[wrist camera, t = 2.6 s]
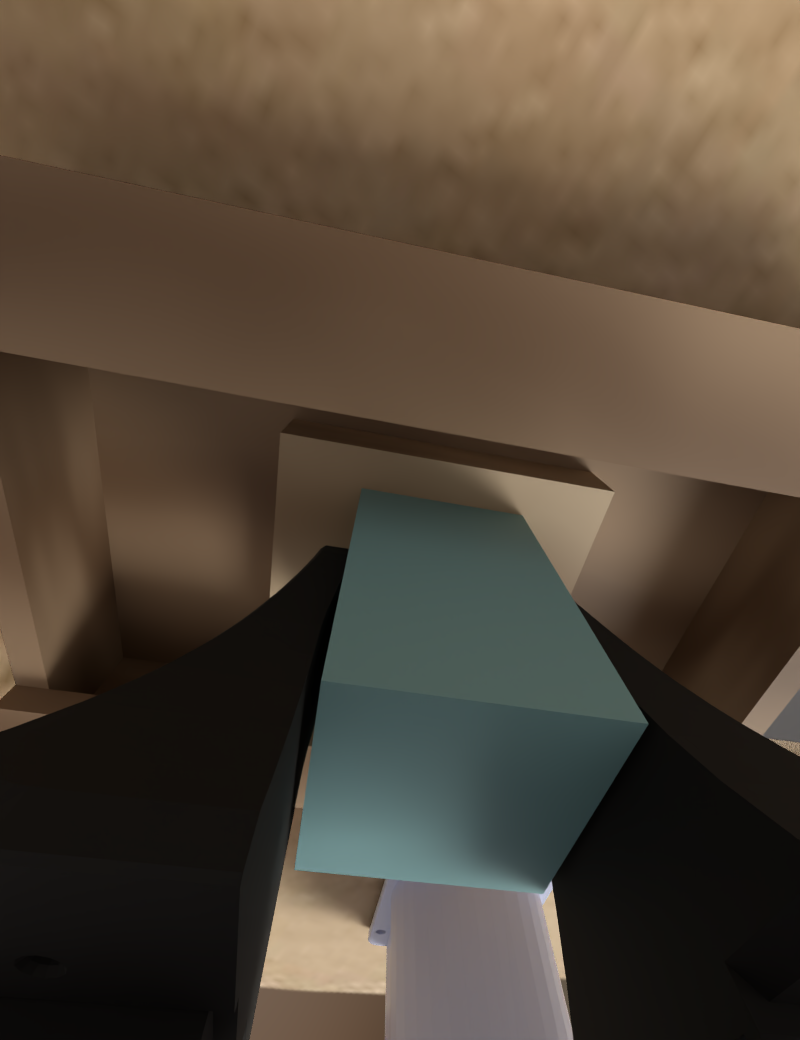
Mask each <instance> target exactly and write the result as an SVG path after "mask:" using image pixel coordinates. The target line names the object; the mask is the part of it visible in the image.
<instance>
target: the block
mask: <svg viewBox="0 0 800 1040" xmlns="http://www.w3.org/2000/svg"><path fill="white" fill-rule="evenodd" d="M647 726H648V722H647V720H646V719H645V717H644V715H643V714H642V712H641V711H640V709H639V707H638V706H637V704H636V702H635V701H634V699H633V697H632V696H631V694H630V692H629V691H628V689H627V687H626V686H625V684H624V682H623V681H622V679H621V677H620V676H619V674H618V673H617V671H616V669H615V668H614V666H613V664H612V663H611V661H610V659H609V658H608V656H607V654H606V653H605V651H604V649H603V648H602V646H601V644H600V643H599V641H598V639H597V638H596V636H595V634H594V633H593V631H592V630H591V628H590V626H589V625H588V623H587V621H586V620H585V618H584V616H583V615H582V613H581V611H580V610H579V608H578V606H577V605H576V603H575V601H574V600H573V598H572V596H571V595H570V593H569V591H568V590H567V588H566V587H565V585H564V583H563V582H562V580H561V578H560V577H559V575H558V573H557V572H556V570H555V568H554V567H553V565H552V563H551V562H550V560H549V558H548V557H547V555H546V553H545V552H544V550H543V548H542V547H541V545H540V544H539V542H538V540H537V539H536V537H535V535H534V534H533V532H532V530H531V529H530V527H529V525H528V524H527V522H526V520H525V519H524V517H523V515H517V514H511V513H506V512H500V511H494V510H488V509H482V508H476V507H470V506H464V505H458V504H452V503H447V502H441V501H435V500H429V499H423V498H417V497H411V496H405V495H399V494H393V493H388V492H382V491H376V490H370V489H364V488H362V489H361V494H360V499H359V504H358V508H357V513H356V518H355V523H354V527H353V532H352V537H351V542H350V546H349V551H348V556H347V561H346V565H345V570H344V575H343V580H342V584H341V589H340V594H339V599H338V603H337V608H336V613H335V617H334V622H333V627H332V632H331V636H330V641H329V646H328V651H327V655H326V660H325V665H324V670H323V674H322V679H321V685H320V693H319V700H318V707H317V714H316V721H315V728H314V735H313V742H312V749H311V756H310V763H309V770H308V777H307V784H306V791H305V798H304V805H303V813H302V820H301V827H300V834H299V841H298V848H297V855H296V862H295V869H294V870H300V871H310V872H320V873H331V874H341V875H351V876H362V877H372V878H382V879H392V880H403V881H413V882H423V883H434V884H444V885H454V886H465V887H475V888H485V889H495V890H506V891H516V892H526V893H537V894H544V892H545V890H546V889H547V887H548V886H549V884H550V882H551V881H552V879H553V877H554V876H555V874H556V873H557V871H558V869H559V868H560V866H561V865H562V863H563V861H564V860H565V858H566V857H567V855H568V853H569V852H570V850H571V848H572V847H573V845H574V844H575V842H576V840H577V839H578V837H579V836H580V834H581V832H582V831H583V829H584V827H585V826H586V824H587V823H588V821H589V819H590V818H591V816H592V815H593V813H594V811H595V810H596V808H597V806H598V805H599V803H600V802H601V800H602V798H603V797H604V795H605V794H606V792H607V790H608V789H609V787H610V785H611V784H612V782H613V781H614V779H615V777H616V776H617V774H618V773H619V771H620V769H621V768H622V766H623V764H624V763H625V761H626V760H627V758H628V756H629V755H630V753H631V752H632V750H633V748H634V747H635V745H636V743H637V742H638V740H639V739H640V737H641V735H642V734H643V732H644V731H645V729H646V727H647Z"/></svg>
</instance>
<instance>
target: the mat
mask: <svg viewBox="0 0 800 1040" xmlns="http://www.w3.org/2000/svg"><path fill="white" fill-rule="evenodd" d="M762 736H764V737H766V738H769V739H776V740H784V741H791V742H799V743H800V689H799V690H798V691H797V693H796V694H795V695H794V697H793V698H792V699H791V700H790V702H789V703H788V704H787V705H786V707H785V708H784V709H783V710H782V712H781V713H780V714H779V715H778V717H777V718H776V719H775V720H774V722H773V723H772V724H771V725H770V727H769V728H768V729H767V730H766V732H765V733H764V734H763V735H762Z"/></svg>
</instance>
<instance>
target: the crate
mask: <svg viewBox="0 0 800 1040" xmlns="http://www.w3.org/2000/svg"><path fill="white" fill-rule="evenodd" d="M362 488H364V489H370V490H376V491H382V492H388V493H393V494H399V495H405V496H411V497H417V498H423V499H429V500H435V501H441V502H447V503H452V504H458V505H464V506H470V507H476V508H482V509H488V510H494V511H500V512H506V513H511V514H517V515H523V517H524V519H525V520H526V522H527V524H528V525H529V527H530V529H531V530H532V532H533V534H534V535H535V537H536V539H537V540H538V542H539V544H540V545H541V547H542V548H543V550H544V552H545V553H546V555H547V557H548V558H549V560H550V562H551V563H552V565H553V567H554V568H555V570H556V572H557V573H558V575H559V577H560V578H561V580H562V582H563V583H564V585H565V587H566V588H567V590H568V591H569V593H570V595H571V596H572V598H573V600H574V601H575V602H576V603H577V604H578V605H579V606H581V607H582V608H583V609H584V610H585V611H587V612H588V613H589V614H590V615H591V616H593V617H594V618H595V619H596V620H597V621H599V622H600V623H601V624H602V625H603V626H605V627H606V628H607V629H608V630H609V631H611V632H612V633H613V634H614V635H616V636H617V637H618V638H619V639H621V640H622V641H623V642H624V643H626V644H627V645H628V646H629V647H631V648H632V649H633V650H634V651H636V652H637V653H638V654H640V655H641V656H642V657H644V658H645V659H646V660H648V661H649V662H650V663H652V664H653V665H654V666H656V667H657V668H658V669H660V670H661V671H662V672H664V673H665V674H667V675H668V676H669V677H671V678H672V679H674V680H675V681H676V682H678V683H679V684H681V685H682V686H684V687H685V688H687V689H688V690H690V691H691V692H693V693H694V694H696V695H697V696H699V697H700V698H702V699H703V700H705V701H706V702H708V703H709V704H711V705H712V706H714V707H716V708H717V709H719V710H720V711H722V712H724V713H725V714H727V715H728V716H730V717H732V718H733V719H735V720H737V721H738V722H740V723H742V724H743V725H745V726H747V727H749V728H750V729H752V730H754V731H755V732H757V733H759V734H761V735H763V734H764V733H765V732H766V730H767V729H768V728H769V727H770V725H771V724H772V723H773V722H774V720H775V719H776V718H777V717H778V715H779V714H780V713H781V712H782V710H783V709H784V708H785V707H786V705H787V704H788V703H789V702H790V700H791V699H792V698H793V697H794V695H795V694H796V693H797V691H798V690H799V689H800V329H799V328H794V327H790V326H785V325H780V324H776V323H771V322H767V321H762V320H757V319H753V318H748V317H744V316H739V315H734V314H730V313H725V312H721V311H716V310H711V309H707V308H702V307H697V306H693V305H688V304H684V303H679V302H674V301H670V300H665V299H661V298H656V297H651V296H647V295H642V294H638V293H633V292H628V291H624V290H619V289H614V288H610V287H605V286H601V285H596V284H591V283H587V282H582V281H578V280H573V279H568V278H564V277H559V276H555V275H550V274H545V273H541V272H536V271H531V270H527V269H522V268H518V267H513V266H508V265H504V264H499V263H495V262H490V261H485V260H481V259H476V258H472V257H467V256H462V255H458V254H453V253H448V252H444V251H439V250H435V249H430V248H425V247H421V246H416V245H412V244H407V243H402V242H398V241H393V240H389V239H384V238H379V237H375V236H370V235H365V234H361V233H356V232H352V231H347V230H342V229H338V228H333V227H329V226H324V225H319V224H315V223H310V222H306V221H301V220H296V219H292V218H287V217H282V216H278V215H273V214H269V213H264V212H259V211H255V210H250V209H246V208H241V207H236V206H232V205H227V204H223V203H218V202H213V201H209V200H204V199H199V198H195V197H190V196H186V195H181V194H176V193H172V192H167V191H163V190H158V189H153V188H149V187H144V186H140V185H135V184H130V183H126V182H121V181H116V180H112V179H107V178H103V177H98V176H93V175H89V174H84V173H80V172H75V171H70V170H66V169H61V168H57V167H52V166H47V165H43V164H38V163H33V162H29V161H24V160H20V159H15V158H10V157H6V156H1V155H0V629H1V633H2V636H3V640H4V644H5V647H6V651H7V655H8V658H9V662H10V666H11V669H12V673H13V677H14V680H15V684H16V685H15V686H14V687H13V688H12V689H11V690H10V691H9V692H8V693H7V694H6V695H5V696H4V697H3V698H2V699H1V700H0V732H1V731H4V730H7V729H10V728H12V727H15V726H18V725H21V724H23V723H26V722H29V721H31V720H34V719H37V718H40V717H42V716H45V715H48V714H50V713H53V712H56V711H58V710H61V709H64V708H66V707H69V706H72V705H74V704H77V703H80V702H83V701H85V700H88V699H90V698H92V697H95V696H97V695H100V694H102V693H105V692H107V691H109V690H112V689H114V688H116V687H118V686H121V685H123V684H125V683H128V682H130V681H132V680H134V679H137V678H139V677H141V676H143V675H145V674H147V673H149V672H152V671H154V670H156V669H158V668H160V667H162V666H164V665H166V664H168V663H170V662H172V661H174V660H176V659H177V658H179V657H181V656H183V655H185V654H187V653H188V652H190V651H192V650H194V649H196V648H198V647H199V646H201V645H203V644H205V643H206V642H208V641H210V640H211V639H213V638H215V637H216V636H218V635H220V634H221V633H223V632H224V631H226V630H227V629H229V628H230V627H232V626H233V625H235V624H236V623H238V622H239V621H241V620H242V619H243V618H245V617H246V616H248V615H249V614H250V613H252V612H253V611H254V610H256V609H257V608H258V607H259V606H261V605H262V604H263V603H264V602H266V601H267V600H268V599H269V598H271V597H272V596H273V595H274V594H276V593H277V592H278V591H279V590H280V589H281V588H282V587H284V586H285V585H286V584H287V583H288V582H289V581H290V580H291V579H292V578H293V577H294V576H295V575H297V574H298V573H299V572H300V571H301V570H302V569H303V568H304V567H305V566H306V565H307V564H308V563H309V561H310V560H311V559H312V558H313V557H314V556H315V555H316V554H317V552H318V551H319V550H320V549H321V548H322V547H324V546H326V545H327V546H334V547H340V548H346V549H349V546H350V542H351V537H352V532H353V527H354V523H355V518H356V513H357V508H358V504H359V499H360V494H361V489H362ZM314 728H315V726H314ZM313 735H314V729H313V733H312V736H311V739H310V743H309V746H308V750H307V754H306V758H305V762H304V766H303V770H302V775H301V780H300V785H299V790H298V794H297V799H296V804H295V808H303V805H304V798H305V791H306V784H307V777H308V770H309V763H310V756H311V749H312V742H313Z"/></svg>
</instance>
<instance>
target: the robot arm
mask: <svg viewBox="0 0 800 1040" xmlns="http://www.w3.org/2000/svg"><path fill="white" fill-rule="evenodd" d="M348 551H349V549H346V548H340V547H334V546H327V545H326V546H324V547H322V548H321V549H320V550H319V551H318V552H317V554H316V555H315V556H314V557H313V558H312V559H311V560H310V561H309V563H308V564H307V565H306V566H305V567H304V568H303V569H302V570H301V571H300V572H299V573H298V574H297V575H295V576H294V577H293V578H292V579H291V580H290V581H289V582H288V583H287V584H286V585H285V586H284V587H282V588H281V589H280V590H279V591H278V592H277V593H276V594H274V595H273V596H272V597H271V598H269V599H268V600H267V601H266V602H264V603H263V604H262V605H261V606H259V607H258V608H257V609H256V610H254V611H253V612H252V613H250V614H249V615H248V616H246V617H245V618H243V619H242V620H241V621H239V622H238V623H236V624H235V625H233V626H232V627H230V628H229V629H227V630H226V631H224V632H223V633H221V634H220V635H218V636H216V637H215V638H213V639H211V640H210V641H208V642H206V643H205V644H203V645H201V646H199V647H198V648H196V649H194V650H192V651H190V652H188V653H187V654H185V655H183V656H181V657H179V658H177V659H176V660H174V661H172V662H170V663H168V664H166V665H164V666H162V667H160V668H158V669H156V670H154V671H152V672H149V673H147V674H145V675H143V676H141V677H139V678H137V679H134V680H132V681H130V682H128V683H125V684H123V685H121V686H118V687H116V688H114V689H112V690H109V691H107V692H105V693H102V694H100V695H97V696H95V697H92V698H90V699H88V700H85V701H83V702H80V703H77V704H74V705H72V706H69V707H66V708H64V709H61V710H58V711H56V712H53V713H50V714H48V715H45V716H42V717H40V718H37V719H34V720H31V721H29V722H26V723H23V724H21V725H18V726H15V727H12V728H10V729H7V730H4V731H1V732H0V1040H249V1039H250V1034H251V1029H252V1024H253V1019H254V1013H255V1008H256V1003H257V998H258V993H259V988H260V982H261V977H262V972H263V967H264V962H265V956H266V951H267V946H268V941H269V936H270V931H271V926H272V921H273V916H274V910H275V905H276V900H277V895H278V890H279V885H280V880H281V875H282V870H283V865H284V860H285V855H286V850H287V845H288V840H289V834H290V829H291V824H292V819H293V814H294V809H295V804H296V799H297V794H298V790H299V785H300V780H301V775H302V770H303V766H304V762H305V758H306V754H307V750H308V746H309V743H310V739H311V736H312V733H313V729H314V726H315V721H316V714H317V707H318V700H319V693H320V685H321V679H322V674H323V670H324V665H325V660H326V655H327V651H328V646H329V641H330V636H331V632H332V627H333V622H334V617H335V613H336V608H337V603H338V599H339V594H340V589H341V584H342V580H343V575H344V570H345V565H346V561H347V556H348ZM575 603H576V602H575ZM576 605H577V606H578V608H579V610H580V611H581V613H582V615H583V616H584V618H585V620H586V621H587V623H588V625H589V626H590V628H591V630H592V631H593V633H594V634H595V636H596V638H597V639H598V641H599V643H600V644H601V646H602V648H603V649H604V651H605V653H606V654H607V656H608V658H609V659H610V661H611V663H612V664H613V666H614V668H615V669H616V671H617V673H618V674H619V676H620V677H621V679H622V681H623V682H624V684H625V686H626V687H627V689H628V691H629V692H630V694H631V696H632V697H633V699H634V701H635V702H636V704H637V706H638V707H639V709H640V711H641V712H642V714H643V715H644V717H645V719H646V720H647V722H648V726H647V727H646V729H645V731H644V732H643V734H642V735H641V737H640V739H639V740H638V742H637V743H636V745H635V747H634V748H633V750H632V752H631V753H630V755H629V756H628V758H627V760H626V761H625V763H624V764H623V766H622V768H621V769H620V771H619V773H618V774H617V776H616V777H615V779H614V781H613V782H612V784H611V785H610V787H609V789H608V790H607V792H606V794H605V795H604V797H603V798H602V800H601V802H600V803H599V805H598V806H597V808H596V810H595V811H594V813H593V815H592V816H591V818H590V819H589V821H588V823H587V824H586V826H585V827H584V829H583V831H582V832H581V834H580V836H579V837H578V839H577V840H576V842H575V844H574V845H573V847H572V848H571V850H570V852H569V853H568V855H567V857H566V858H565V860H564V861H563V863H562V865H561V866H560V868H559V869H558V871H557V873H556V874H555V876H554V877H553V879H552V881H551V882H550V884H549V886H548V887H547V889H546V890H545V892H544V894H537V893H526V892H516V891H506V890H495V889H485V888H475V887H465V886H454V885H444V884H434V883H423V882H413V881H403V880H392V879H385V881H384V885H383V888H382V891H381V894H380V897H379V901H378V904H377V907H376V910H375V914H374V917H373V920H372V923H371V926H370V930H369V938H368V940H369V942H370V943H371V944H373V945H381V946H387V959H386V1009H385V1040H800V757H799V756H798V755H796V754H794V753H792V752H790V751H788V750H787V749H785V748H783V747H781V746H779V745H778V744H776V743H774V742H773V741H771V740H769V739H767V738H766V737H764V736H762V735H761V734H759V733H757V732H755V731H754V730H752V729H750V728H749V727H747V726H745V725H743V724H742V723H740V722H738V721H737V720H735V719H733V718H732V717H730V716H728V715H727V714H725V713H724V712H722V711H720V710H719V709H717V708H716V707H714V706H712V705H711V704H709V703H708V702H706V701H705V700H703V699H702V698H700V697H699V696H697V695H696V694H694V693H693V692H691V691H690V690H688V689H687V688H685V687H684V686H682V685H681V684H679V683H678V682H676V681H675V680H674V679H672V678H671V677H669V676H668V675H667V674H665V673H664V672H662V671H661V670H660V669H658V668H657V667H656V666H654V665H653V664H652V663H650V662H649V661H648V660H646V659H645V658H644V657H642V656H641V655H640V654H638V653H637V652H636V651H634V650H633V649H632V648H631V647H629V646H628V645H627V644H626V643H624V642H623V641H622V640H621V639H619V638H618V637H617V636H616V635H614V634H613V633H612V632H611V631H609V630H608V629H607V628H606V627H605V626H603V625H602V624H601V623H600V622H599V621H597V620H596V619H595V618H594V617H593V616H591V615H590V614H589V613H588V612H587V611H585V610H584V609H583V608H582V607H581V606H579V605H578V604H577V603H576ZM552 889H553V892H554V898H555V904H556V911H557V918H558V925H559V932H560V939H561V946H562V953H563V960H564V967H565V974H566V981H567V990H568V998H569V1007H570V1015H571V1024H572V1027H571V1024H570V1019H569V1015H568V1011H567V1006H566V1002H565V998H564V994H563V990H562V986H561V981H560V977H559V973H558V969H557V965H556V961H555V957H554V952H553V948H552V944H551V940H550V936H549V932H548V927H547V923H546V919H545V915H544V911H543V907H542V905H543V904H544V902H545V900H546V899H547V897H548V896H549V894H550V892H551V891H552Z"/></svg>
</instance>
